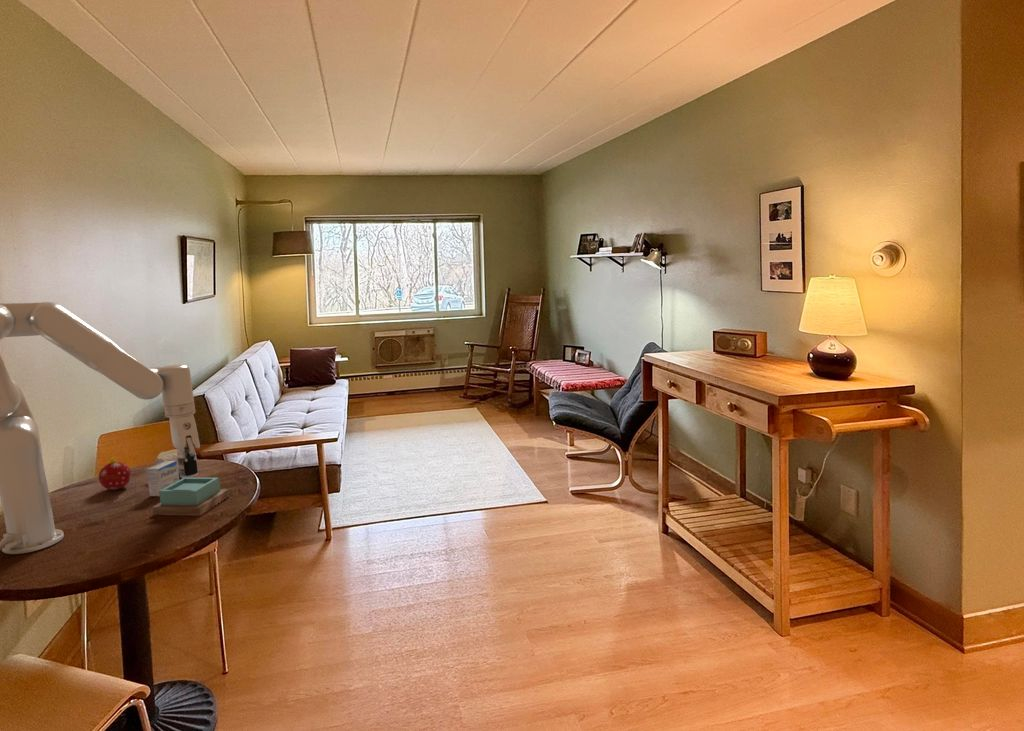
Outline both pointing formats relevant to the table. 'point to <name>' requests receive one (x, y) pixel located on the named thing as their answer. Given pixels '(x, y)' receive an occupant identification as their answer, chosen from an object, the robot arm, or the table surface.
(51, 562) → the table surface
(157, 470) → the medicine box
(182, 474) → the pill bottle
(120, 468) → the christmas ornament
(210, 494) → the teal tray
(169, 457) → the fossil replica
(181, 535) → the table surface
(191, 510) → the walnut slab
